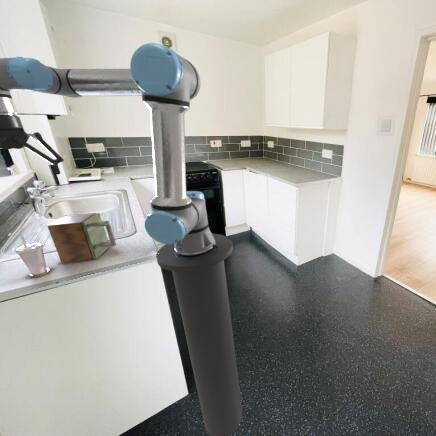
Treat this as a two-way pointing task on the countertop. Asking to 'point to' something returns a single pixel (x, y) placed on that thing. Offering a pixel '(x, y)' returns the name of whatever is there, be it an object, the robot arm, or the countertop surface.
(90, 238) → the door
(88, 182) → the countertop surface
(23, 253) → the smoothie
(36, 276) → the coaster
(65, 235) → the cabinet
